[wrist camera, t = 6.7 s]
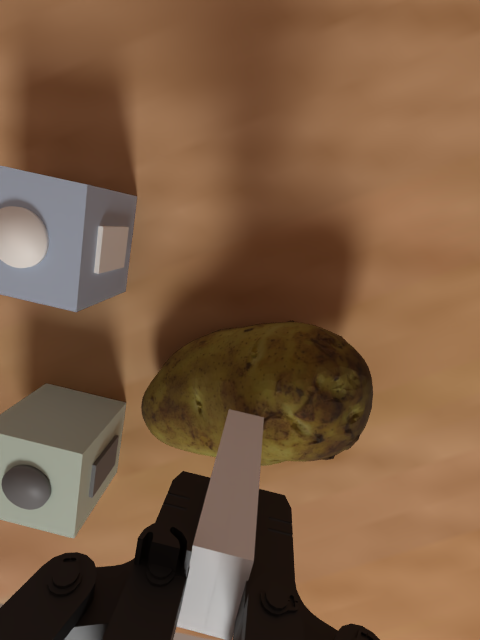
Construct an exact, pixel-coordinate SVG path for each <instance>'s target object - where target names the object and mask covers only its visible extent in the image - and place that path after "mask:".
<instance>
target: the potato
mask: <svg viewBox="0 0 480 640" xmlns="http://www.w3.org/2000/svg"><path fill="white" fill-rule="evenodd" d="M372 398H373V386H372V378H371V374H370V371H369V368H368V366H367V364H366V362H365V360H364V359H363V358H362V356H361V355H360V354H359V353H358V352H357V351H356V350H355V349H354V348H353V347H352V346H351V345H350V344H348V343H347V342H346V341H345V339H343V338H342V336H339V335H337V334H334V333H332V332H330V331H328V330H325V329H323V328H320V327H317V326H314V325H310V324H305V323H299V322H294V321H288V322H279V323H266V324H257V325H252V326H247V327H243V328H229V329H223V330H218V331H216V332H213V333H210V334H208V335H206V336H203V337H201V338H199V339H197V340H194V341H192V342H190V343H189V344H187V345H186V346H184V347H182V348H181V349H180V350H179V351H177V352H176V353H174V354H173V355H172V356H171V357H170V358H169V360H168V361H167V362H166V363H165V364H164V366H163V367H162V368H161V370H160V371H159V372H158V374H157V375H156V376H155V378H154V379H153V380H152V382H151V383H150V385H149V386H148V388H147V390H146V391H145V394H144V396H143V399H142V415H143V419H144V421H145V423H146V425H147V427H148V428H149V430H150V432H151V433H152V434H153V435H154V436H155V437H156V438H157V439H159V440H160V441H162V442H163V443H165V444H167V445H169V446H172V447H175V448H178V449H181V450H184V451H188V452H192V453H196V454H201V455H207V456H212V457H216V456H217V452H218V448H219V445H220V441H221V437H222V433H223V430H224V426H225V422H226V418H227V415H228V411H229V409H230V410H235V411H239V412H243V413H247V414H251V415H255V416H260V417H264V423H263V437H262V452H261V465H262V466H264V465H272V464H277V463H281V462H284V461H315V460H321V459H323V460H328V459H333V458H334V456H335V455H337V454H339V453H340V452H342V451H344V450H348V449H349V448H351V447H352V446H353V444H354V443H355V442H356V441H357V440H358V439H359V436H360V434H361V433H362V431H363V430H364V428H365V426H366V424H367V421H368V418H369V415H370V412H371V408H372Z"/></svg>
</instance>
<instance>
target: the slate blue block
mask: <svg viewBox="0 0 480 640" xmlns="http://www.w3.org/2000/svg"><path fill="white" fill-rule="evenodd" d="M136 203H137V196H134V195H129V194H125V193H121V192H117V191H112V190H108V189H104V188H100V187H95V186H91V185H87V184H82V183H78V182H73V181H68V180H64V179H59V178H55V177H50V176H46V175H41V174H36V173H32V172H27V171H23V170H18V169H13V168H9V167H4V166H0V294H1V295H5V296H9V297H14V298H18V299H22V300H26V301H31V302H35V303H39V304H44V305H48V306H52V307H57V308H61V309H65V310H69V311H74V312H78V311H80V310H83V309H85V308H87V307H90V306H92V305H94V304H97V303H99V302H102V301H104V300H106V299H109V298H111V297H113V296H116V295H118V294H121V293H123V292H125V291H126V284H127V275H128V267H129V259H130V251H131V243H132V235H133V227H134V219H135V211H136Z"/></svg>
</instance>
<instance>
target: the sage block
mask: <svg viewBox="0 0 480 640" xmlns="http://www.w3.org/2000/svg"><path fill="white" fill-rule="evenodd" d="M125 409H126V402H122V401H117V400H113V399H109V398H105V397H101V396H97V395H93V394H89V393H84V392H80V391H76V390H72V389H68V388H64V387H60V386H56V385H51V384H47V383H46V384H44V385H43V386H41V387H40V388H38V389H37V390H36V391H34V392H33V393H31V394H30V395H28V396H27V397H25V398H24V399H22V400H21V401H19V402H18V403H16V404H15V405H14V406H12V407H11V408H9V409H8V410H6V411H5V412H3V413H2V414H0V520H4V521H8V522H12V523H16V524H19V525H23V526H27V527H31V528H35V529H39V530H43V531H47V532H50V533H54V534H58V535H62V536H66V537H70V538H75V536H76V535H77V533H78V532H79V530H80V529H81V527H82V525H83V524H84V522H85V521H86V519H87V518H88V516H89V515H90V513H91V511H92V510H93V508H94V507H95V505H96V504H97V502H98V501H99V499H100V498H101V496H102V494H103V493H104V491H105V490H106V488H107V487H108V485H109V484H110V482H111V480H112V479H113V477H114V476H115V474H116V473H117V467H118V460H119V453H120V445H121V438H122V431H123V423H124V416H125Z"/></svg>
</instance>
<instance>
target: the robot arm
mask: <svg viewBox="0 0 480 640" xmlns="http://www.w3.org/2000/svg"><path fill="white" fill-rule="evenodd" d="M263 423H264V417H260V416H255V415H251V414H247V413H243V412H239V411H235V410H230V409H229V411H228V415H227V418H226V422H225V426H224V430H223V433H222V437H221V441H220V445H219V448H218V452H217V456H216V460H215V464H214V467H213V471H212V475H211V478H209V477H205V476H201V475H197V474H193V473H189V472H185V471H183V472H182V473H180V474H179V475H178V476H177V477H176V478H175V479H174V480H173V481H172V484H171V486H170V488H169V491H168V494H167V496H166V498H165V501H164V503H163V505H162V508H161V510H160V513H159V515H158V517H157V520H156V522H155V523H154V524H152V525H150V526H149V527H147V528H146V529H144V530H143V532H142V533H141V534H140V536H139V537H138V541H137V548H136V554H135V558H134V559H133V560H131V561H129V562H127V563H124V564H122V565H116V566H107V567H95V564H94V562H93V561H92V560H91V559H90V558H89V557H88V556H87V555H84V554H81V553H77V552H75V553H64V554H62V555H59V556H57V557H54V558H52V559H51V560H50V561H48V562H47V563H46V564H44V565H43V566H42V567H41V568H40V569H39V570H38V571H37V572H36V573H35V574H34V575H33V576H32V577H31V578H30V579H29V580H28V581H27V582H26V583H25V584H24V585H23V586H22V587H21V588H20V589H19V590H18V591H17V592H16V593H15V594H14V595H13V596H12V597H11V598H10V599H9V600H8V601H7V602H6V603H5V604H4V605H3V606H2V607H1V608H0V640H173V637H174V634H175V630H176V626H177V627H181V628H184V629H188V630H192V631H196V632H199V633H203V634H207V635H210V636H214V637H218V638H221V639H225V640H232V637H233V640H380V639H379V638H378V637H377V636H376V635H375V634H374V633H373V632H371V631H369V630H368V629H366V628H364V627H363V626H359V625H355V624H349V625H345V626H342V627H341V628H340V629H339V631H337V630H336V629H334V628H333V627H331V626H329V625H328V624H326V623H325V622H323V621H322V620H320V619H319V618H317V617H316V616H315V615H313V614H312V613H311V612H310V611H309V610H308V609H307V608H306V606H305V605H304V604H303V602H302V600H301V599H300V596H299V595H298V592H297V590H296V584H295V573H294V553H293V537H292V534H293V533H292V513H291V507H290V505H289V503H288V501H287V499H286V497H285V495H281V494H277V493H273V492H269V491H265V490H261V489H259V480H260V466H261V452H262V437H263ZM233 633H234V635H233Z"/></svg>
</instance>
